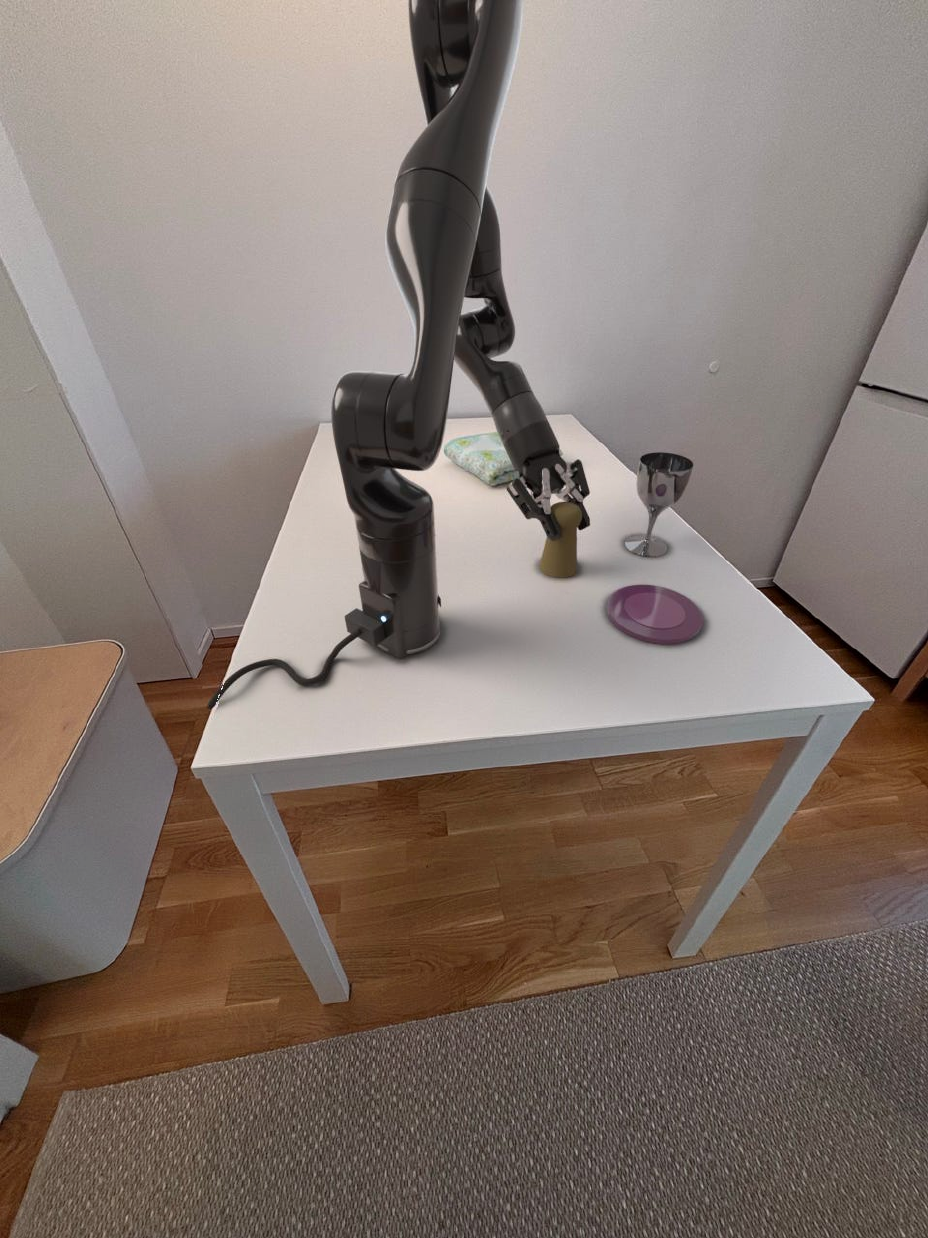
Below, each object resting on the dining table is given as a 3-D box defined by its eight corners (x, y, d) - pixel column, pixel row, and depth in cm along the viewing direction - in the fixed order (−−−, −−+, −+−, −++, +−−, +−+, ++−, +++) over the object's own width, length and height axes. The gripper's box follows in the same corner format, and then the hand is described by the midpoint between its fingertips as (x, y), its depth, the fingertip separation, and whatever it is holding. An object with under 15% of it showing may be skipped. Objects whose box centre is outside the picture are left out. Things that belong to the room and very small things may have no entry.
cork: (576, 579, 81) (586, 516, 74) (537, 575, 82) (543, 513, 75) (577, 559, 86) (586, 498, 79) (541, 556, 87) (547, 495, 80)
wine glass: (662, 562, 85) (686, 475, 76) (615, 549, 88) (633, 465, 79) (675, 542, 90) (698, 458, 81) (630, 530, 94) (648, 448, 84)
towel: (564, 466, 117) (567, 444, 114) (488, 489, 107) (489, 466, 104) (514, 443, 129) (515, 422, 125) (442, 462, 119) (441, 440, 116)
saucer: (683, 657, 67) (685, 652, 66) (591, 620, 73) (592, 615, 73) (712, 608, 75) (714, 603, 75) (627, 579, 81) (629, 574, 81)
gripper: (499, 428, 72) (550, 539, 72) (573, 410, 79) (620, 511, 78) (476, 454, 79) (523, 555, 79) (546, 435, 85) (589, 528, 85)
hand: (571, 532), depth 78 cm, fingers closed on cork, 5 cm apart
